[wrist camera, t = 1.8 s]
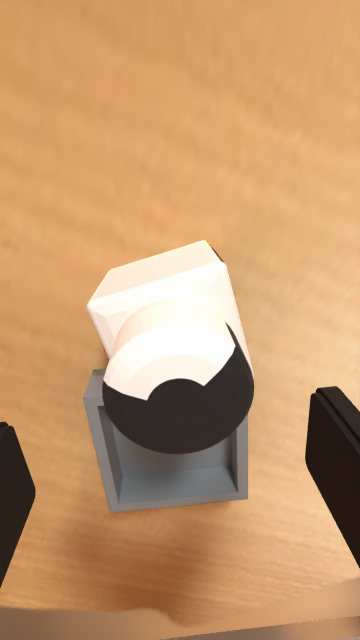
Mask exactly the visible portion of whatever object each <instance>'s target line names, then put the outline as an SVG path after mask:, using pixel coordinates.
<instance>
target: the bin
mask: <svg viewBox="0 0 360 640" xmlns="http://www.w3.org/2000/svg"><path fill="white" fill-rule="evenodd" d="M105 372H106V369H102V370H93V373H92V376H91V378H90V381H89V384H88V386H87V389H86V391H85V394H84V397H83V399H84V403H85V408H86V412H87V416H88V420H89V425H90V429H91V433H92V437H93V441H94V446H95V450H96V454H97V458H98V463H99V467H100V471H101V475H102V480H103V484H104V488H105V492H106V497H107V501H108V505H109V509H110V513H111V512H121V511H131V510H141V509H152V508H162V507H172V506H182V505H192V504H202V503H213V502H223V501H233V500H243V499H248V414H247V415H246V417H245V419H244V420H243V422H242V423H241V424H240V425H239V426H238V428H237V429H236V430H235V431H233V432H232V433H231V434H230V435H229V436H228V437H227V438H225V439H224V440H223V441H221V442H219V443H218V444H216V445H214V446H212V447H210V448H207V449H205V450H202V451H198V452H194V453H188V454H165V453H159V452H155V451H151V450H149V449H146V448H143V447H141V446H139V445H138V444H136V443H134V442H133V441H131V440H130V439H128V438H127V437H125V436H124V435H123V434H122V433H121V432H120V431H119V430H118V429H117V428H116V427H115V425H114V424H113V423H112V421H111V420H110V418H109V416H108V415H107V412H106V409H105V407H104V403H103V398H102V386H103V379H104V376H105Z"/></svg>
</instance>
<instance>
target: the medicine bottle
mask: <svg viewBox="0 0 360 640" xmlns="http://www.w3.org/2000/svg"><path fill="white" fill-rule="evenodd" d="M87 311H88V313H89V315H90V317H91V320H92V322H93V324H94V326H95V328H96V331H97V333H98V335H99V337H100V340H101V342H102V344H103V346H104V349H105V351H106V353H107V355H108V358H109V363H108V366H107V369H106V372H105V376H104V379H103V386H102V398H103V403H104V407H105V409H106V412H107V415H108V416H109V418H110V420H111V421H112V423H113V424H114V425H115V427H116V428H117V429H118V430H119V431H120V432H121V433H122V434H123V435H124V436H125V437H127V438H128V439H130V440H131V441H133V442H134V443H136V444H138V445H139V446H141V447H143V448H146V449H149V450H151V451H155V452H159V453H165V454H188V453H194V452H198V451H202V450H205V449H207V448H210V447H212V446H214V445H216V444H218V443H219V442H221V441H223V440H224V439H225V438H227V437H228V436H229V435H230V434H231V433H232V432H233V431H235V430H236V429H237V428H238V426H239V425H240V424H241V423H242V422H243V420H244V419H245V417H246V415H247V414H248V411H249V409H250V407H251V404H252V400H253V395H254V373H253V369H252V365H251V361H250V357H249V353H248V349H247V345H246V341H245V337H244V333H243V329H242V326H241V322H240V318H239V314H238V310H237V306H236V302H235V298H234V294H233V290H232V286H231V282H230V278H229V274H228V270H227V266H226V265H225V263H224V262H223V260H222V259H221V258H220V257H219V255H218V254H217V253H216V251H215V250H214V249H213V247H212V246H211V245H210V243H209V242H208V241H206V240H203V241H199V242H196V243H193V244H190V245H187V246H184V247H180V248H177V249H174V250H171V251H168V252H165V253H161V254H158V255H155V256H152V257H149V258H146V259H142V260H139V261H136V262H133V263H130V264H127V265H123V266H120V267H117V268H114V269H111V270H109V271H108V273H107V274H106V276H105V277H104V279H103V281H102V282H101V284H100V285H99V287H98V288H97V290H96V291H95V293H94V294H93V296H92V298H91V299H90V301H89V302H88V304H87Z"/></svg>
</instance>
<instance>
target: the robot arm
mask: <svg viewBox="0 0 360 640" xmlns="http://www.w3.org/2000/svg"><path fill="white" fill-rule="evenodd" d="M305 460H306V465H307V468H308V470H309V472H310V474H311V476H312V478H313V480H314V482H315V484H316V485H317V487H318V489H319V491H320V493H321V495H322V497H323V499H324V501H325V503H326V505H327V507H328V508H329V510H330V512H331V514H332V516H333V518H334V520H335V522H336V524H337V526H338V528H339V530H340V531H341V533H342V535H343V537H344V539H345V541H346V543H347V545H348V547H349V549H350V551H351V553H352V554H353V556H354V558H355V560H356V562H357V564H358V566H359V568H360V412H359V410H358V409H357V408H356V407H355V406H354V405H353V404H352V402H351V401H350V400H349V399H348V398H347V397H346V396H345V394H344V393H343V392H342V391H341V390H340V389H339V388H338V387H336V386H333V387H323V388H318V389H317V390H316V393H313V394H311V398H310V409H309V420H308V431H307V442H306V453H305ZM34 499H35V486H34V483H33V480H32V478H31V475H30V472H29V469H28V466H27V464H26V461H25V458H24V455H23V452H22V450H21V447H20V444H19V441H18V438H17V436H16V433H15V430H14V428H13V427H12V426H8V424H7V423H6V422H0V588H1V585H2V582H3V580H4V577H5V575H6V572H7V569H8V567H9V564H10V562H11V559H12V557H13V554H14V551H15V549H16V546H17V544H18V541H19V538H20V536H21V533H22V531H23V528H24V525H25V523H26V520H27V518H28V515H29V513H30V510H31V507H32V505H33V502H34ZM162 640H360V616H357V617H346V618H336V619H327V620H319V621H310V622H302V623H294V624H286V625H277V626H268V627H260V628H252V629H243V630H235V631H226V632H218V633H210V634H203V635H194V636H186V637H178V638H170V639H162Z"/></svg>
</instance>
